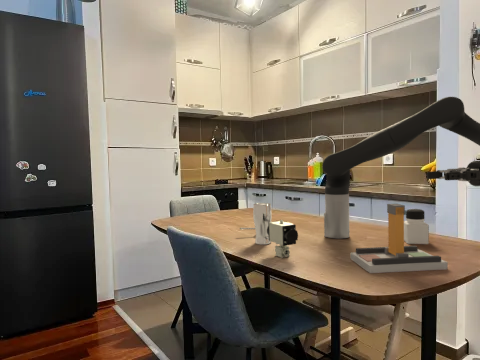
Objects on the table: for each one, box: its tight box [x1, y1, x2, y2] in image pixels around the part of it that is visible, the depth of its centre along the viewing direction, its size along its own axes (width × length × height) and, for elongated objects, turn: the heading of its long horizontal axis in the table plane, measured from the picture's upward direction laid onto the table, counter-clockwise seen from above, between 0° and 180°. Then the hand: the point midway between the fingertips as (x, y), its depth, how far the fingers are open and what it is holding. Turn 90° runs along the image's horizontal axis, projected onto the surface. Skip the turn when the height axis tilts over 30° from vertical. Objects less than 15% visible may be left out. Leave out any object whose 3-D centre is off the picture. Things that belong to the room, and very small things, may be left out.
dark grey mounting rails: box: [355, 245, 442, 265], centre depth 103 cm, size 19×13×1 cm
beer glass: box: [252, 202, 273, 246], centre depth 134 cm, size 7×7×15 cm
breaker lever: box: [386, 203, 406, 256], centre depth 103 cm, size 3×5×15 cm, turn 3°
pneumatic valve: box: [267, 219, 299, 259], centre depth 115 cm, size 6×12×12 cm, turn 28°
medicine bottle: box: [404, 208, 430, 245], centre depth 128 cm, size 7×7×12 cm
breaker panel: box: [350, 246, 449, 274], centre depth 103 cm, size 22×14×4 cm, turn 93°
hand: (435, 176), depth 103 cm, fingers open, 8 cm apart
